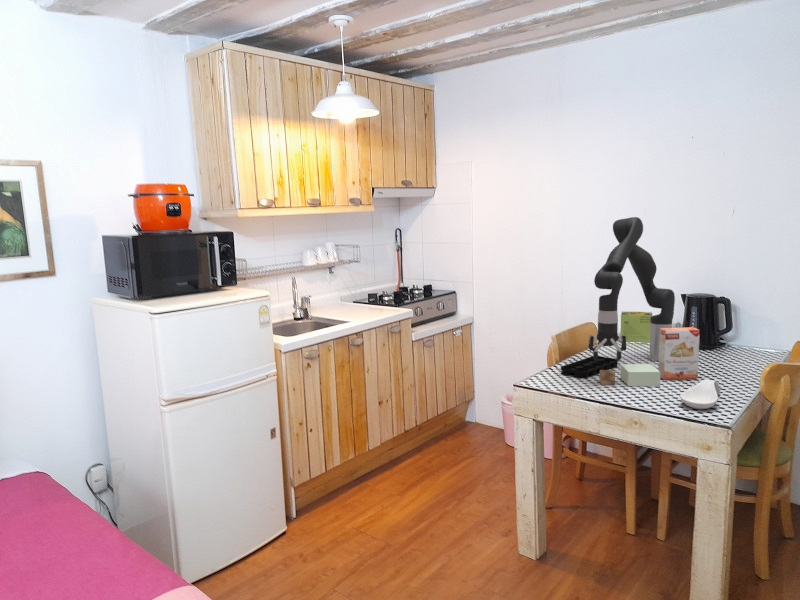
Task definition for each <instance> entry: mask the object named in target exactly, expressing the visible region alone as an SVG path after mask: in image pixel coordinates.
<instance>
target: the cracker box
mask: <svg viewBox="0 0 800 600" xmlns="http://www.w3.org/2000/svg"><path fill="white" fill-rule="evenodd" d="M700 331H701V330H700V329H698V328H696V327H691V326H689V327H672V328H660V342H659V361H658V367H657V370H659V371H660V379H662V380H664V381H665V380H666V381H667V380H668V381H669V380H671V381H672V380H698V374H699V358H700V357H699V352H700V337H701V336H700V334H701V332H700Z"/></svg>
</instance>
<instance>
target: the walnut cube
mask: <svg viewBox="0 0 800 600" xmlns="http://www.w3.org/2000/svg"><path fill="white" fill-rule="evenodd" d="M599 381H600V382H599V383H600V384H601V385H602V386H615V385H616V372H615V371H614V370H613V369H610V370H600V373H599Z"/></svg>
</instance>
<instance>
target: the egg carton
mask: <svg viewBox="0 0 800 600" xmlns="http://www.w3.org/2000/svg"><path fill="white" fill-rule="evenodd" d="M618 362H619V361H617V360H616V358H613V357H606V356H601V355H598V361H595V360H594V358H593V355H592V356H590V357H589V356H588V357H586V358H583V359H580V360H576V361H574V362H571V363H568V364H565V365H562V366H561V367H560V371H561V374H562V375H564V376H568V377H569V376H570V377H571V375H573V376H574V375H575V376H574V377H575V378H576V377H577V379H581V378H585V379H588V378H589V377H593V376H596V375H597V374H600V370H609V369H610V370H611V369H615V368H617V367H618V364H619V363H618ZM587 377H588V378H587Z"/></svg>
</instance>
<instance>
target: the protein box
mask: <svg viewBox="0 0 800 600" xmlns="http://www.w3.org/2000/svg"><path fill="white" fill-rule="evenodd" d="M652 316H653V312H652V311H626V310H625V311H621V314H620V334H619V336H621V335H624V336H626V342H644V343H650V318H651V317H652ZM619 340H620V339H619ZM620 342H621V340H620Z"/></svg>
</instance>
